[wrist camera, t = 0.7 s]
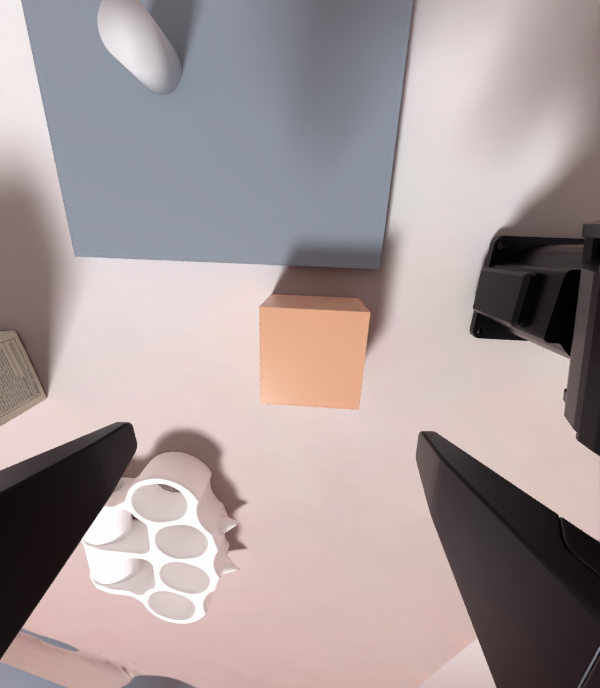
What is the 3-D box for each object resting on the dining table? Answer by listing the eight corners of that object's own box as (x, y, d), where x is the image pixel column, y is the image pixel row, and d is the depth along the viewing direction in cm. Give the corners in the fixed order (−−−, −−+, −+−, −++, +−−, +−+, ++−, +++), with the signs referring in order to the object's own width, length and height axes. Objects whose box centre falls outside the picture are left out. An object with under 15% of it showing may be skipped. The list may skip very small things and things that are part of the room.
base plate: (419, -77, 14) (456, -193, 10) (377, 268, 19) (391, 273, 15) (18, -75, 14) (-81, -181, 11) (84, 255, 20) (32, 258, 16)
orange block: (358, 297, 20) (370, 312, 15) (350, 377, 21) (358, 409, 17) (271, 293, 20) (259, 306, 16) (271, 372, 22) (260, 403, 17)
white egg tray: (81, 439, 25) (244, 454, 25) (111, 576, 31) (243, 590, 31) (47, 467, 22) (233, 485, 22) (88, 614, 28) (235, 630, 28)
